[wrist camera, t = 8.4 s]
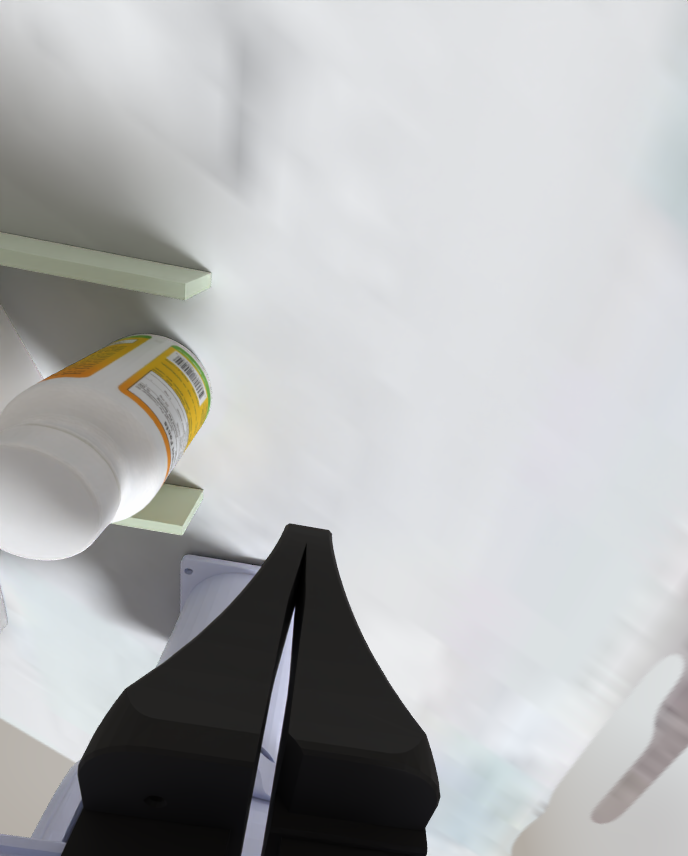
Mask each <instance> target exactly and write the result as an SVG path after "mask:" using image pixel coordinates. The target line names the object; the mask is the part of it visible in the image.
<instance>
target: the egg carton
mask: <svg viewBox="0 0 688 856" xmlns="http://www.w3.org/2000/svg"><path fill="white" fill-rule="evenodd" d="M42 380H44V379H43V377H42V375H41V373H40V372H39V370H38V368H37V367H36V365H35V363H34V361H33V360H32V358H31V356H30V354H29V353H28V351H27V349H26V347H25V346H24V344H23V342H22V340H21V339H20V337H19V335H18V333H17V332H16V330H15V328H14V326H13V325H12V323H11V321H10V319H9V318H8V316H7V314H6V312H5V311H4V309H3V307H2V305H1V304H0V415H1V413H2V412H3V410H4V409H5V407H6V406H7V404H8V403H9V402H10V401H11V400H13V399H14V398H15V397H16V396H17V395H19V394H20V393H22V392H23V391H25V390H26V389H28V388H29V387H31V386H33V385H35V384H37V383H38V382H40V381H42Z"/></svg>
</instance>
